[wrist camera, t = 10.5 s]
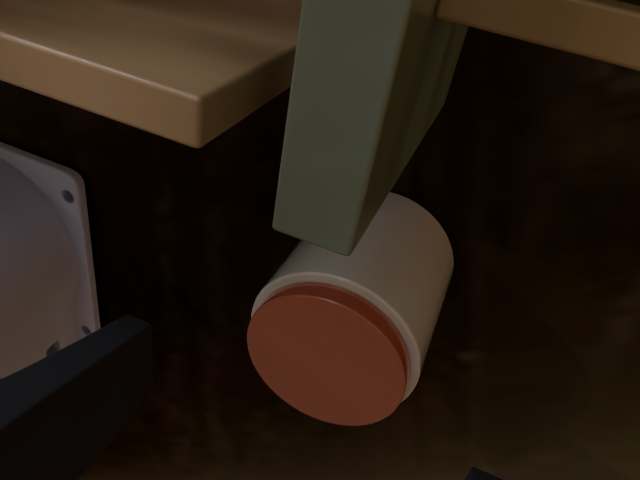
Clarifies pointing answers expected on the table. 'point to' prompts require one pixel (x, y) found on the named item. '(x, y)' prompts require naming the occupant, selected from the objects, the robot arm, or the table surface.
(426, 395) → the table surface
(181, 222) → the table surface
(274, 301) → the paint pot
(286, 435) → the table surface
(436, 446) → the table surface
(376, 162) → the drawer
